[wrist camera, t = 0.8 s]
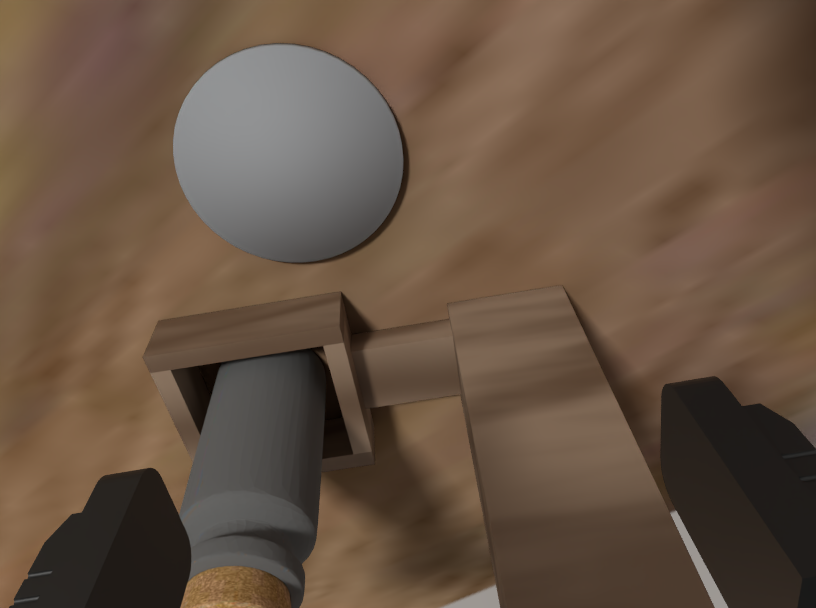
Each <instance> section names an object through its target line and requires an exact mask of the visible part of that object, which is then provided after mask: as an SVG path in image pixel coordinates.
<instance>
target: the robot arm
mask: <svg viewBox="0 0 816 608" xmlns="http://www.w3.org/2000/svg"><path fill="white" fill-rule="evenodd" d="M661 469H662V475H663V479H664V483H665V486H666V489H667V492H668V494H669V497H670V499H671V501H672V503H673V505H674V507H675V509H676V511H677V512H678V514H679V516H680V518H681V520H682V522H683V523H684V525H685V527H686V529H687V531H688V533H689V535H690V536H691V539H692V540H693V542H694V544H695V546H696V548H697V549H698V552H699V553H700V555H701V557H702V559H703V561H704V563H705V565H706V566H707V568H708V570H709V572H710V574H711V576H712V578H713V579H714V581H715V583H716V585H717V587H718V589H719V590H720V593H721V594H722V596H723V598H724V600H725V602H726V604H727V606H728V607H729V608H816V449H815V447H814V446H813V445H812V444H811V443H810V442H809V441H808V440H807V438H806V437H805V436H804V435H803V434H802V433H801V432H800V430H799V429H798V428H797V427H796V426H795V425H794V424H793V423H792V422H790V421H789V420H787V419H785V418H784V417H782V416H780V415H778V414H777V413H775V412H773V411H772V410H770V409H768V408H767V407H765V406H763V405H762V404H754V405H748V406H741V404H740V403H739V402H738V401H737V399H736V398H735V397H734V396H733V394H732V393H731V392H730V391H729V389H728V388H727V387H726V386H725V384H724V383H723V382H722V381H721V380H720V379H719V378H718V377H715V376H712V377H706V378H700V379H694V380H688V381H682V382H676V383H670V384H666V385H664V387H663V389H662V396H661ZM191 557H192V556H191V545H190V540H189V537H188V534H187V532H186V529H185V527H184V525H183V523H182V521H181V519H180V516H179V514H178V512H177V510H176V508H175V506H174V503H173V501H172V499H171V497H170V495H169V493H168V490H167V488H166V486H165V484H164V482H163V480H162V478H161V476H160V474H159V473H158V471H156V470H155V469H153V468H146V469H140V470H134V471H128V472H122V473H116V474H110V475H105V476H103V477H102V478H100V480H99V481H98V482H97V484H96V486H95V488H94V490H93V492H92V494H91V496H90V498H89V500H88V502H87V504H86V506H85V507H84V509H83V511H82V513H76V514H72V515H71V516H70V517H69V518H68V519H67V520H66V521H65V522H64V523H63V524H62V525H61V526H60V527H59V528H58V529H57V530H56V531H55V532H54V533H53V534H52V535H51V536H50V538H49V539H48V540H47V541H46V542H45V543H44V545H43V546H42V548H41V550H40V552H39V554H38V556H37V557H36V559H35V561H34V563H33V565H32V567H31V569H30V570H29V572H28V579H25V580H24V581H23V583H22V585H21V587H20V589H19V591H18V592H17V594H16V596H15V598H14V605H13V606H10V607H9V608H180V607H181V604H182V600H183V597H184V593H185V590H186V586H187V583H188V579H189V576H190V571H191Z"/></svg>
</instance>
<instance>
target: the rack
mask: <svg viewBox="0 0 816 608" xmlns="http://www.w3.org/2000/svg"><path fill="white" fill-rule="evenodd" d="M447 306H448V313H449V319H446V320H440V321H434V322H427V323H421V324H415V325H408V326H402V327H396V328H390V329H383V330H377V331H371V332H364V333H358V334H352V335H351V331H350V327H349V323H348V319H347V314H346V310H345V306H344V302H343V298H342V294H341V292H335V293H329V294H323V295H317V296H310V297H304V298H298V299H292V300H285V301H279V302H273V303H267V304H260V305H254V306H248V307H242V308H236V309H229V310H223V311H217V312H211V313H204V314H198V315H192V316H186V317H179V318H173V319H167V320H161V321H158V323H157V325H156V327H155V330H154V332H153V334H152V337H151V339H150V341H149V344H148V346H147V348H146V351H145V353H144V355H143V359H144V361H145V363H146V365H147V367H148V370H149V372H150V374H151V376H152V378H153V380H154V382H155V384H156V386H157V388H158V390H159V393H160V395H161V397H162V399H163V401H164V403H165V405H166V407H167V409H168V411H169V413H170V416H171V418H172V420H173V422H174V424H175V426H176V428H177V430H178V432H179V434H180V436H181V439H182V441H183V443H184V445H185V447H186V449H187V451H188V453H189V455H190V457H191V460H192V462H193V461H194V457H195V454H196V450H197V446H198V442H199V439H200V435H201V432H202V428H203V425H204V421H205V417H206V414H207V410H208V407H209V403H210V400H211V396H210V394H209V391H208V389H207V387H206V384H205V382H204V380H203V377H202V375H201V373H200V370H199V368H198V366H199V365H206V364H212V363H218V362H225V361H231V360H237V359H244V358H250V357H256V356H263V355H269V354H275V353H282V352H288V351H294V350H301V349H307V348H313V347H320V346H323V347H324V351H325V354H326V358H327V361H328V365H329V369H330V372H331V376H332V379H333V383H334V386H335V390H336V394H337V397H338V401H339V404H340V408H341V411H342V415H343V418H337V419H331V420H324V436H323V453H322V469H321V472H327V471H333V470H340V469H347V468H353V467H360V466H366V465H373V464H375V445H374V424H373V420H372V416H371V412H370V408H375V407H381V406H388V405H394V404H401V403H407V402H414V401H420V400H427V399H433V398H440V397H446V396H453V395H459V394H460V395H461V401H462V406H463V411H464V417H465V422H466V427H467V433H468V438H469V443H470V449H471V454H472V459H473V465H474V470H475V475H476V480H477V486H478V491H479V496H480V502H481V507H482V512H483V518H484V523H485V528H486V534H487V539H488V544H489V550H490V555H491V560H492V566H493V571H494V576H495V582H496V587H497V592H498V597H499V603H500V608H714V605H713V603H712V601H711V599H710V597H709V595H708V593H707V591H706V588H705V586H704V584H703V582H702V580H701V578H700V576H699V574H698V572H697V569H696V567H695V565H694V563H693V561H692V559H691V557H690V555H689V553H688V550H687V548H686V546H685V544H684V542H683V540H682V538H681V536H680V533H679V531H678V530H677V527H676V525H675V523H674V521H673V519H672V517H671V514H670V512H669V510H668V508H667V506H666V504H665V502H664V500H663V497H662V495H661V493H660V491H659V489H658V487H657V485H656V483H655V481H654V478H653V476H652V474H651V472H650V470H649V468H648V466H647V464H646V462H645V459H644V457H643V455H642V453H641V451H640V449H639V447H638V445H637V443H636V440H635V438H634V436H633V434H632V432H631V430H630V428H629V426H628V424H627V421H626V419H625V417H624V415H623V413H622V411H621V409H620V407H619V404H618V402H617V400H616V398H615V396H614V394H613V392H612V390H611V388H610V385H609V383H608V381H607V379H606V377H605V375H604V373H603V371H602V369H601V366H600V364H599V362H598V360H597V358H596V356H595V354H594V352H593V350H592V347H591V345H590V343H589V341H588V339H587V337H586V335H585V333H584V330H583V328H582V326H581V324H580V322H579V320H578V318H577V316H576V314H575V311H574V309H573V307H572V305H571V303H570V301H569V299H568V297H567V295H566V292H565V290H564V288H563V286H562V285H561V286H554V287H548V288H542V289H535V290H529V291H523V292H517V293H510V294H504V295H498V296H491V297H485V298H479V299H473V300H466V301H460V302H454V303H447Z"/></svg>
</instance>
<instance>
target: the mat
mask: <svg viewBox="0 0 816 608" xmlns="http://www.w3.org/2000/svg"><path fill="white" fill-rule="evenodd" d="M173 155H174V162H175V168H176V172H177V176H178V179H179V182H180V185H181V187H182V189H183V192H184V194H185V196H186V198H187V199H188V201H189V203H190V204H191V206H192V208H193V209H194V210H195V212H196V213H197V214H198V215H199V217H200V218H201V219H202V220H203V221H204V222H205V223H206V224H207V225H208V226H209V227H210V228H211V230H213V231H214V232H215V233H216V234H218V235H219V236H220V237H221V238H223V239H224V240H226V241H227V242H229V243H230V244H232V245H234V246H235V247H237V248H239V249H241V250H243V251H245V252H248V253H250V254H253V255H256V256H259V257H261V258H266V259H270V260H274V261H282V262H312V261H318V260H323V259H327V258H331V257H334V256H336V255H339V254H342V253H344V252H346V251H348V250H350V249H352V248H354V247H355V246H357V245H358V244H360V243H361V242H363V241H364V240H366V239H367V238H368V237H369V236H370V235H371V234H373V233H374V232H375V231H376V230H377V228H378V227H379V226H380V225H381V224H382V223H383V221H384V220H385V218H386V217H387V216H388V214H389V213H390V211H391V209H392V207H393V205H394V203H395V201H396V198H397V195H398V192H399V189H400V186H401V180H402V175H403V151H402V142H401V138H400V133H399V129H398V126H397V123H396V121H395V118H394V115H393V113H392V111H391V109H390V108H389V106H388V104H387V102H386V100H385V99H384V98H383V96H382V95H381V93H380V92H379V91H378V89H377V88H376V87H375V86H374V85H373V84H372V83H371V82H370V81H369V79H368V78H367V77H366V76H364V75H363V74H362V73H361V72H360V71H358V70H357V69H356V68H355V67H353V66H352V65H350V64H349V63H347V62H345V61H344V60H342V59H341V58H339V57H336V56H334V55H332V54H330V53H328V52H325V51H322V50H319V49H316V48H313V47H309V46H304V45H298V44H287V43H274V44H264V45H258V46H254V47H250V48H246V49H243V50H241V51H238V52H236V53H233V54H231V55H229V56H228V57H226V58H224V59H223V60H221V61H219V62H217V63H216V64H215V65H214V66H213V67H211V68H210V69H209V70H208V71H206V72H205V73H204V75H203V76H202V77H201V78H200V79H199V80H198V81H197V82H196V84H195V85H194V86H193V88H192V89H191V91H190V92H189V94H188V95H187V97H186V98H185V100H184V103H183V105H182V107H181V109H180V111H179V114H178V118H177V121H176V125H175V131H174V138H173Z"/></svg>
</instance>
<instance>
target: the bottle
mask: <svg viewBox="0 0 816 608" xmlns="http://www.w3.org/2000/svg"><path fill="white" fill-rule="evenodd" d="M325 401H326V374H325V369H324V367H323V364H322V362H321V361H320V359H319V358H318V356H317V355H316V354H315V353H314V352H313V351H312V350H311V349H309V348H307V349H301V350H294V351H288V352H282V353H275V354H269V355H263V356H256V357H250V358H244V359H237V360H231V361H225V362H222V363H221V366H220V368H219V371H218V375H217V378H216V382H215V385H214V389H213V392H212V396H211V400H210V403H209V407H208V410H207V414H206V417H205V421H204V425H203V428H202V432H201V435H200V439H199V442H198V446H197V450H196V454H195V457H194V461H193V465H192V469H191V473H190V476H189V480H188V484H187V488H186V491H185V495H184V499H183V503H182V506H181V510H180V514H179V516H180V519H181V521H182V523H183V525H184V527H185V529H186V532H187V534H188V537H189V540H190V545H191V556H192V557H191V571H190V576H189V579H188V583H187V586H186V590H185V593H184V597H183V600H182V604H181V607H180V608H299V607H300V605H301V603H302V601H303V596H304V588H305V572H304V569H303V567H302V563H303V562H304V561H305V560H306V559H307V558H308V557H309V555H310V554H311V552H312V550H313V548H314V545H315V542H316V536H317V526H318V514H319V499H320V484H321V469H322V453H323V436H324V419H325Z"/></svg>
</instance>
